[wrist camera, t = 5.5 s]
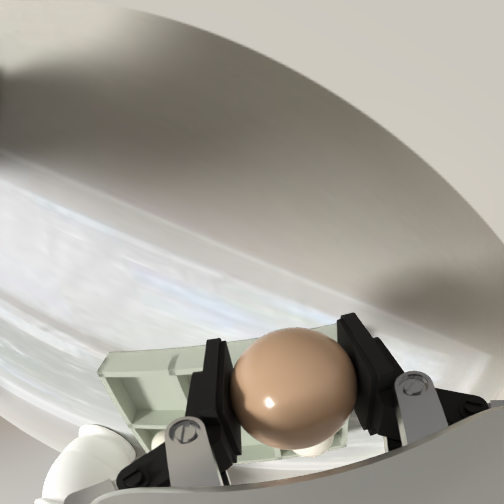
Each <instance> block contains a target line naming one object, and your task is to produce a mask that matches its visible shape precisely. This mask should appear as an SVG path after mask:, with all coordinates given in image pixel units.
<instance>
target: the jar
mask: <svg viewBox="0 0 504 504" xmlns="http://www.w3.org/2000/svg"><path fill="white" fill-rule="evenodd" d="M135 457H136V453H135V450H134V448H133V447H132V445H131V444H130V443H129V442H128V441H127V440H125V439H124V438H123V437H122V436H120V435H119V434H117V433H115V432H113V431H111V430H109V429H107V428H105V427H102V426H98V425H93V424H87V425H84V426H82V427H81V428H80V430H79V437H78V438H76V439H75V440H73V441H72V442H71V443H70V444H69V445H68V446H67V447H66V448H65V449H64V451H63V452H62V453H61V454H60V455H59V457H58V458H57V459H56V460H55V462H54V463H53V465H52V466H51V468H50V470H49V472H48V474H47V477H46V480H45V483H44V487H43V496H42V498H38V499H36V500H35V503H34V504H64V500H65V498H66V497H67V496H68V495H70V494H71V493H74V492H76V491H79V490H82V489H85V488H87V487H90V486H93V485H95V484H98V483H100V482H103V481H105V480H108V479H111V480H112V481H113V480H115V479H116V478H117V475H118V474H119V472H120V471H121V470H122V469H123V468H125V467H126V466H128V465H130V463H131V462H132V461H133V460H134V459H135Z"/></svg>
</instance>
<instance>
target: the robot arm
mask: <svg viewBox="0 0 504 504" xmlns="http://www.w3.org/2000/svg"><path fill="white" fill-rule="evenodd" d="M337 343H338V344H339V345H340V346H341V347H342V348H343V349H344V350H345V351H346V353H347V354H348V356H349V357H350V358H351V361H352V363H353V365H354V368H355V371H356V375H357V380H358V393H357V398H356V403H355V406H354V410H355V412H356V415H357V417H358V419H359V421H360V424H361V426H362V428H363V430H367V429H368V432H369V434H370V436H371V435H374V434H377V433H378V435H381V436H383V439H384V447H385V453H384V454H381V455H378V456H375V457H372V458H369V459H366V460H363V461H359V462H356V463H353V464H349V465H346V466H342V467H338V468H334V469H330V470H326V471H322V472H318V473H313V474H309V475H304V476H298V477H293V478H287V479H281V480H275V481H268V482H260V483H251V484H241V485H231V482H230V479H229V476H228V473H227V469H228V468H229V467H230V466H232V465H233V463H237V456H239V455H242V443H241V425H240V424H239V422H238V421H237V419H236V417H235V415H234V413H233V409H232V406H231V400H230V392H229V385H230V378H231V374H232V371H233V369H234V368H233V365H232V361H231V357H230V353H229V350H228V346H227V342H226V341H221V339H220V338H217V339H210V340H207V342H206V349H205V356H204V363H203V371H199V372H193V373H192V376H191V382H190V388H189V394H188V400H187V406H186V412H185V417H181V418H178V419H175V420H174V421H172V422H171V423H170V424H169V425H168V426H167V428H166V430H165V435H164V436H165V442H163V443H162V444H160V445H159V446H157V447H156V448H154V449H153V450H151V451H150V452H148V453H147V454H145V455H144V456H142V457H141V458H139V459H138V460H136V461H134V462H133V463H131V464H130V465H128V466H126V467H125V468H123V469H122V470H121V471H120V472H119V474H118V475H117V478H116V479H115V480H113V481H112V480H111V479H108V480H105V481H103V482H100V483H98V484H95V485H93V486H90V487H87V488H85V489H82V490H79V491H76V492H74V493H71V494H70V495H68V496H67V497H66V498H65V500H64V504H504V400H490V403H487V402H486V401H485V400H484V399H483V398H481V397H479V396H476V395H470V394H464V393H459V392H453V391H448V390H443V389H438V388H435V387H434V385H433V382H432V380H431V378H430V377H429V376H428V375H426V374H425V373H422V372H419V371H409V372H405V373H404V371H403V370H402V368H401V367H400V366H399V364H398V363H397V361H396V360H395V359H394V357H393V356H392V355H391V353H390V352H389V350H388V349H387V348H386V346H385V345H384V344H383V342H382V341H381V340H380V339H379V338H378V337H376V338H372V336H371V335H370V334H369V332H368V331H367V329H366V328H365V327H364V325H363V324H362V322H361V321H360V320H359V318H358V317H357V315H356V314H355V313H350V314H345V315H341V319H339V320H337Z"/></svg>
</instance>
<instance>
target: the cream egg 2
mask: <svg viewBox="0 0 504 504" xmlns="http://www.w3.org/2000/svg"><path fill="white" fill-rule="evenodd" d="M333 440H334V435H333V436H332V437H331V438H329V439H328V440H326V441H324V442H322V443H320V444H318V445H315V446H313V447H309V448H305V449H298V450H293V451H294V452H295V453H296V454H298V455H300V456H303V457H316V456H319V455H321V454H323V453H324V452H326V451H327V450H328V449H329V448H330V446H331V445H332V443H333Z"/></svg>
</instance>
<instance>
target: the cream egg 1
mask: <svg viewBox="0 0 504 504" xmlns="http://www.w3.org/2000/svg"><path fill="white" fill-rule="evenodd" d="M165 430H166V429H163V430H161V431H159V432H158V433H157V434H156V435H155V436H154V437H153V440H152V443H151V448H152V450H153V449H154V448H156V447H157V446H159V445H160V444H162V443H163V442H165V436H164V435H165Z"/></svg>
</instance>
